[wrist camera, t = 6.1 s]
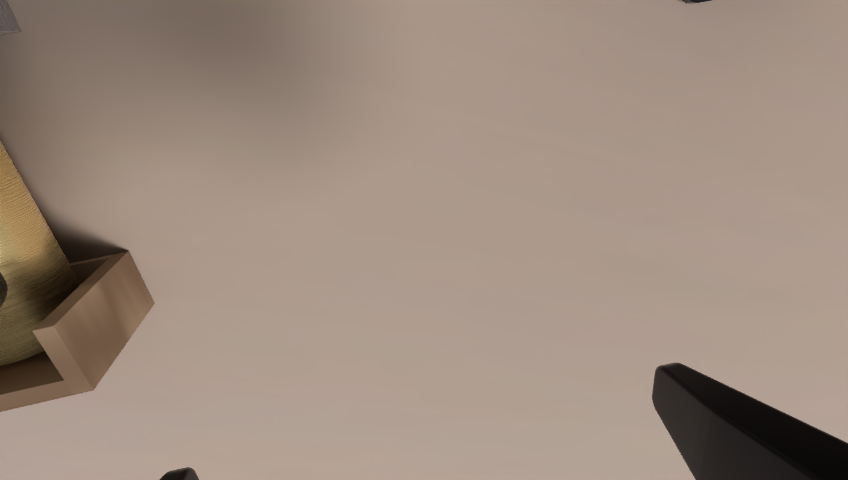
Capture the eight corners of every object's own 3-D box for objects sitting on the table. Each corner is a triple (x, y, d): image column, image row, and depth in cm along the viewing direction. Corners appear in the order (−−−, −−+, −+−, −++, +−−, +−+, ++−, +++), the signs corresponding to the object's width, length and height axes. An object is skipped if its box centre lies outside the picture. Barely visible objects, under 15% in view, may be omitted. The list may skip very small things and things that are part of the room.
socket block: (-22, 281, 17) (-155, 371, 13) (128, 251, 18) (53, 326, 13) (13, 333, 18) (-98, 434, 14) (154, 303, 19) (93, 390, 14)
